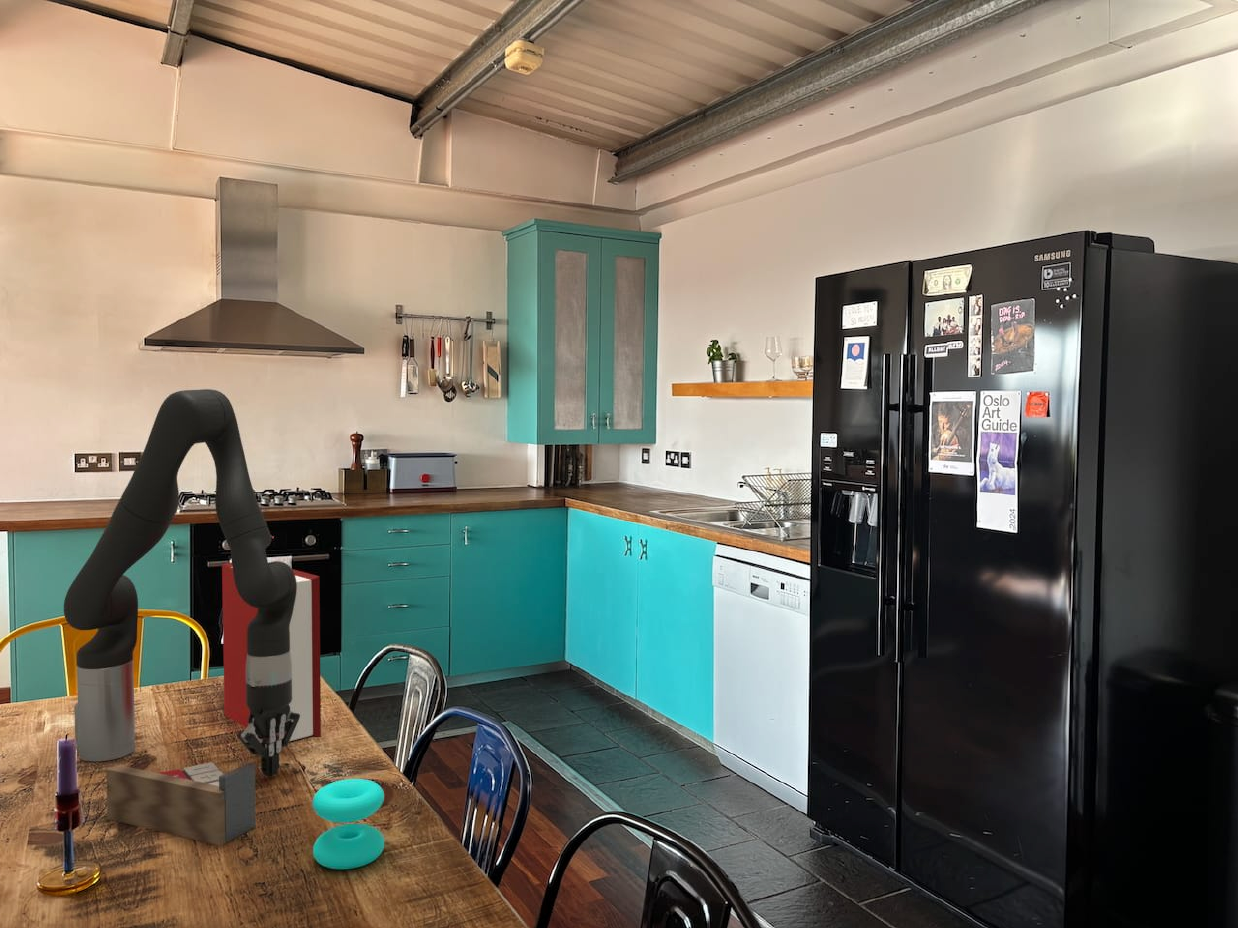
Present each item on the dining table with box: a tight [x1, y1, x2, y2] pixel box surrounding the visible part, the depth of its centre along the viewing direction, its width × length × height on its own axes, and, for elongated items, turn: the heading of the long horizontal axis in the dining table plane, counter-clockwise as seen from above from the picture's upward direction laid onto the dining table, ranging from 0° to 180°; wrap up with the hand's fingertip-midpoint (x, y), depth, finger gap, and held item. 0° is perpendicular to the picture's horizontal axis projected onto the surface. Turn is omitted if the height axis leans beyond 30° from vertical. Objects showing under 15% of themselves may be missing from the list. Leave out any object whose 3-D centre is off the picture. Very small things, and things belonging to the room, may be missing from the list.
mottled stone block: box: [105, 764, 227, 847], centre depth 147 cm, size 23×7×8 cm, turn 68°
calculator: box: [158, 762, 225, 786], centre depth 156 cm, size 11×4×15 cm
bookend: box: [219, 762, 257, 844], centre depth 143 cm, size 1×6×10 cm, turn 158°
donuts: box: [312, 778, 385, 870], centre depth 136 cm, size 10×10×10 cm
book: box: [221, 562, 322, 742], centre depth 191 cm, size 27×8×32 cm, turn 46°
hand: (270, 774), depth 165 cm, fingers closed
